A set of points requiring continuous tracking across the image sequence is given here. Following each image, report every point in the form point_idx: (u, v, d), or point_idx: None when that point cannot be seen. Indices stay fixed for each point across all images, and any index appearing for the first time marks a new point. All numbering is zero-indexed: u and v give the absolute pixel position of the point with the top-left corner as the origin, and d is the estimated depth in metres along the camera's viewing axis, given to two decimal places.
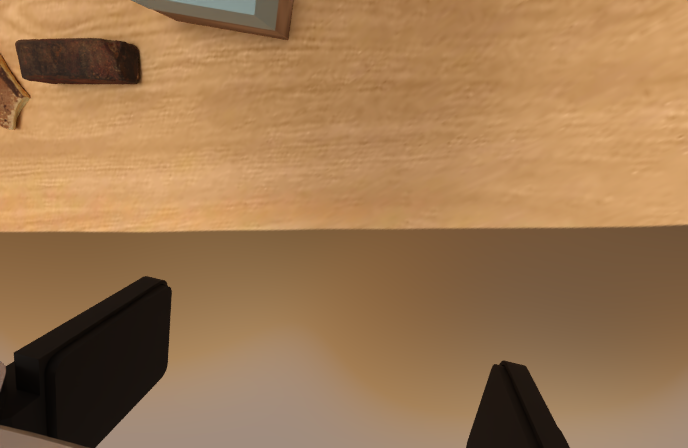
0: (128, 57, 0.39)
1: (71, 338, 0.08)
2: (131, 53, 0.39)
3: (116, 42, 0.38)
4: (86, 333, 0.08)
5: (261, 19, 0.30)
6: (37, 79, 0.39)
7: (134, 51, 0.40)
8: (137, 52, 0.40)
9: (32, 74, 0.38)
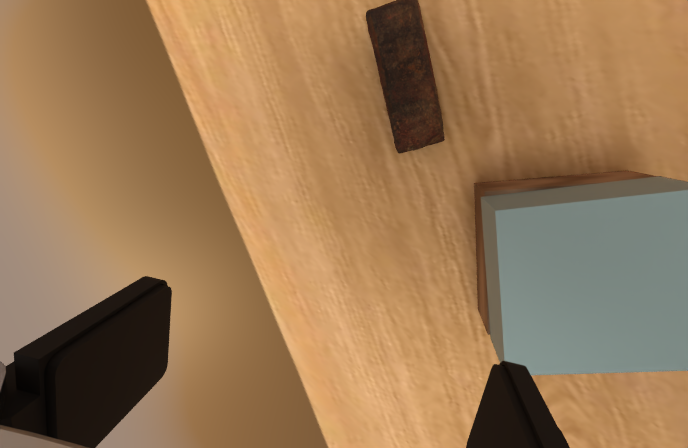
0: None
1: (71, 338, 0.08)
2: None
3: (442, 137, 0.30)
4: (86, 333, 0.08)
5: None
6: (370, 34, 0.28)
7: None
8: None
9: (375, 29, 0.27)
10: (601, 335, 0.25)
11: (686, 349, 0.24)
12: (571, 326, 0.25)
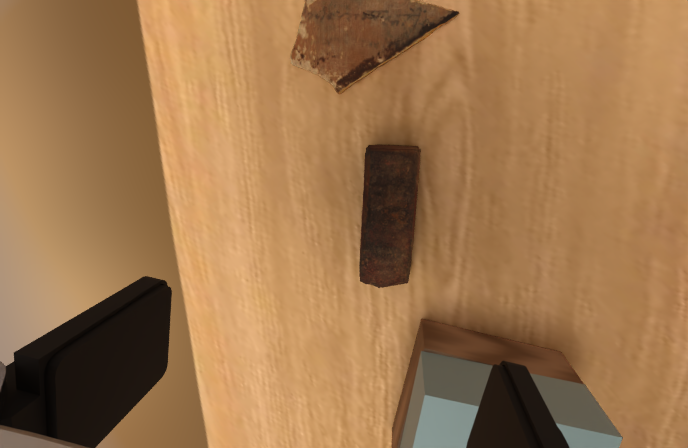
0: None
1: (71, 338, 0.08)
2: None
3: (405, 281, 0.30)
4: (86, 333, 0.08)
5: None
6: (365, 170, 0.27)
7: None
8: None
9: (371, 169, 0.27)
10: None
11: None
12: None
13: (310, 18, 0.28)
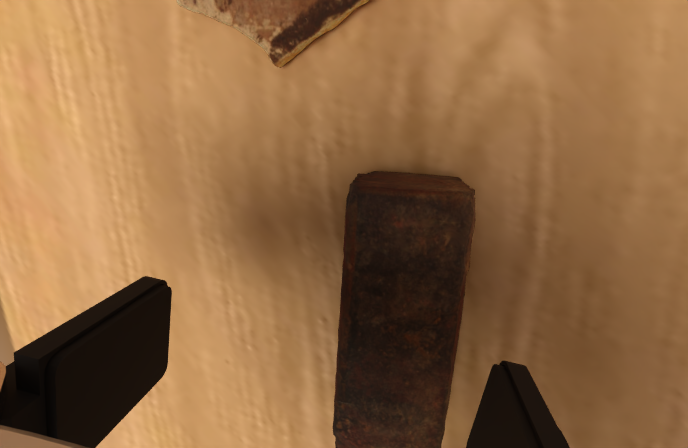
0: None
1: (72, 338, 0.08)
2: None
3: None
4: (86, 333, 0.08)
5: None
6: (346, 236, 0.12)
7: None
8: None
9: (359, 235, 0.11)
10: None
11: None
12: None
13: None
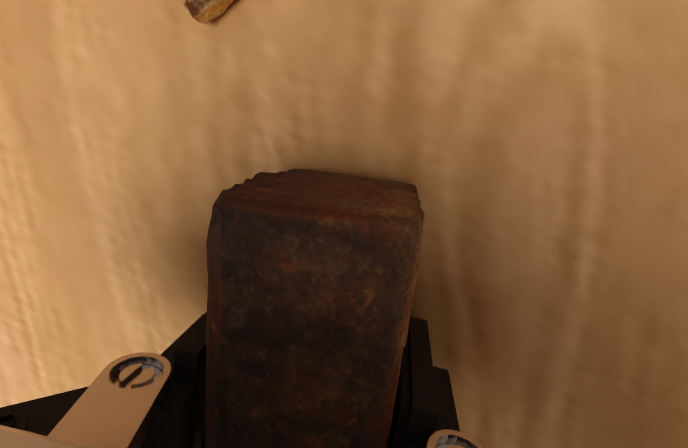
0: None
1: None
2: None
3: None
4: None
5: None
6: None
7: None
8: None
9: (225, 280, 0.07)
10: None
11: None
12: None
13: None
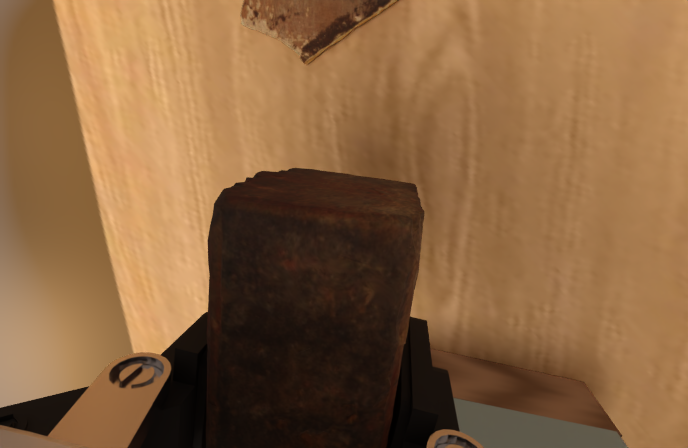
0: None
1: None
2: None
3: None
4: None
5: None
6: None
7: None
8: None
9: (227, 278, 0.07)
10: None
11: None
12: None
13: None
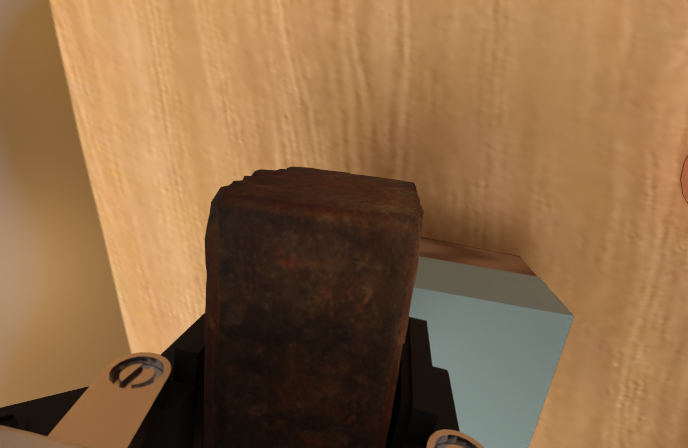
0: None
1: None
2: None
3: None
4: None
5: None
6: None
7: None
8: None
9: (224, 277, 0.07)
10: None
11: None
12: None
13: None
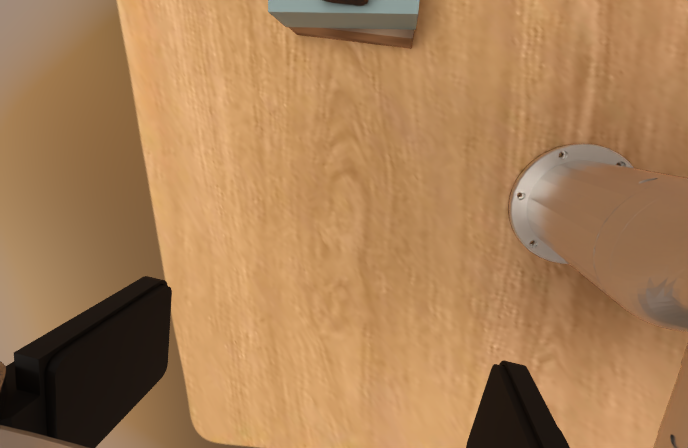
0: None
1: (72, 338, 0.08)
2: (354, 1, 0.28)
3: None
4: (86, 333, 0.08)
5: (275, 16, 0.32)
6: None
7: (359, 3, 0.29)
8: (359, 4, 0.29)
9: None
10: None
11: None
12: None
13: None
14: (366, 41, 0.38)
